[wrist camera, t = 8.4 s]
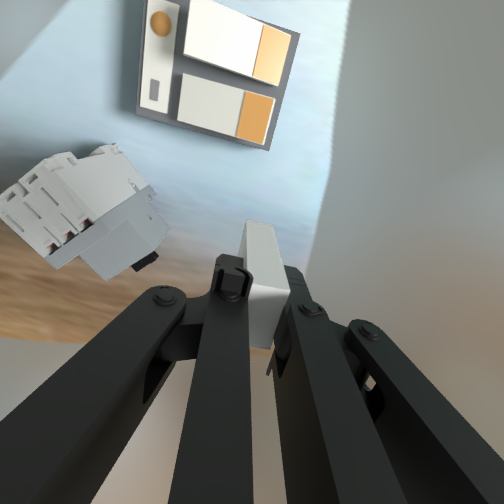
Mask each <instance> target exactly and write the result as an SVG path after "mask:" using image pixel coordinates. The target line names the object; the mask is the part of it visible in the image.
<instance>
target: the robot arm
mask: <svg viewBox="0 0 504 504" xmlns="http://www.w3.org/2000/svg"><path fill="white" fill-rule="evenodd" d="M273 339H274V344H275V349H274V352H273V354H272V357H271V360H270V363H269V366H268V369H267V372H266V375H268V376H269V374H270V371H271V369H272V370H273V380H274V388H275V398H276V407H277V416H278V425H279V433H280V443H281V452H282V461H283V471H284V479H285V488H286V497H287V504H504V461H503V460H502V458H501V457H500V456H499V455H498V454H497V453H496V452H495V451H494V450H493V449H492V448H491V447H490V446H489V444H488V443H487V442H486V441H485V440H484V439H483V438H482V437H481V436H480V435H479V434H478V433H477V431H476V430H475V429H474V428H473V427H472V426H471V425H470V424H469V423H468V422H467V421H466V420H465V419H464V417H462V415H461V414H460V413H459V412H458V411H457V410H456V409H455V408H454V407H453V406H452V405H451V404H450V402H449V401H447V399H446V398H445V397H444V396H443V395H442V394H441V393H440V392H439V391H438V390H437V389H436V387H435V386H434V385H433V384H432V383H431V382H430V381H429V380H428V379H427V378H426V377H425V376H424V374H423V373H422V372H421V371H419V369H418V368H417V367H416V366H415V365H414V364H413V363H412V362H411V360H410V359H409V358H408V357H407V356H406V355H405V354H404V353H403V352H402V351H401V350H400V349H399V348H398V346H397V345H396V344H395V343H394V342H393V341H392V340H391V339H390V338H389V337H388V336H387V335H386V334H385V333H384V332H383V331H382V330H381V329H380V328H379V327H377V326H376V325H374V324H373V323H371V322H368V321H365V320H360V319H356V320H352V321H351V322H350V323H349V326H348V327H345V326H342V325H340V324H337V323H335V322H333V321H330V320H329V318H328V315H327V313H326V311H325V310H324V308H323V307H321V306H320V305H319V304H318V303H315V302H314V301H312V298H311V296H310V293H309V290H308V288H307V285H306V282H305V280H304V277H303V274H302V273H301V272H300V271H299V270H298V269H297V268H295V267H290V266H285V265H283V262H282V258H281V254H280V251H279V247H278V243H277V240H276V236H275V232H274V229H273V225H269V224H265V223H260V222H256V221H251V220H247V219H246V223H245V227H244V231H243V235H242V240H241V244H240V248H239V252H238V256H237V257H236V256H231V255H226V254H221V255H220V256H219V257H217V259H216V264H215V269H214V274H213V279H212V283H211V288H210V291H209V292H208V293H207V294H205V295H203V296H200V297H196V298H186V294H185V293H184V292H183V291H182V290H180V289H178V288H176V287H172V286H167V285H166V286H164V285H163V286H155V287H151V288H150V289H148V290H146V291H145V292H144V293H143V294H142V295H140V296H139V297H138V298H137V299H136V300H135V301H134V302H133V303H132V304H130V305H129V306H128V307H127V308H126V309H125V310H124V311H123V312H122V313H120V314H119V315H118V316H117V317H116V318H115V319H114V320H113V321H112V322H110V323H109V324H108V325H107V326H106V327H105V328H104V329H103V330H102V331H100V332H99V333H98V334H97V335H96V336H95V337H94V338H93V339H92V340H90V341H89V342H88V343H87V344H86V345H85V346H84V347H83V348H82V349H80V350H79V351H78V352H77V353H76V354H75V355H74V356H73V357H72V358H70V359H69V360H68V361H67V362H66V363H65V364H64V365H63V366H62V367H60V368H59V369H58V370H57V371H56V372H55V373H54V374H53V375H52V376H51V377H49V378H48V380H46V381H45V382H44V383H43V384H42V385H40V386H39V387H38V388H37V389H36V390H35V391H34V392H33V393H32V394H30V395H29V396H28V397H27V398H26V399H25V400H24V401H23V402H22V403H21V404H19V405H18V406H17V407H16V408H15V409H14V410H13V411H12V412H10V413H9V414H8V415H7V416H6V417H5V418H4V419H3V420H2V421H0V504H90V503H91V502H92V500H93V498H94V496H95V495H96V493H97V492H98V490H99V489H100V487H101V485H102V484H103V482H104V481H105V479H106V477H107V476H108V474H109V472H110V471H111V469H112V467H113V466H114V464H115V463H116V461H117V459H118V457H119V456H120V454H121V453H122V451H123V450H124V448H125V446H126V445H127V443H128V441H129V440H130V438H131V437H132V435H133V433H134V432H135V430H136V428H137V427H138V425H139V423H140V422H141V420H142V419H143V417H144V415H145V414H146V412H147V410H148V409H149V407H150V406H151V404H152V402H153V401H154V399H155V397H156V396H157V394H158V393H159V391H160V389H161V387H162V386H163V384H164V383H165V381H166V379H167V378H168V376H169V375H170V373H171V371H172V370H173V368H174V366H175V364H176V361H181V360H189V359H196V363H195V368H194V373H193V378H192V383H191V388H190V394H189V398H188V403H187V408H186V414H185V418H184V424H183V429H182V434H181V439H180V444H179V449H178V454H177V459H176V464H175V469H174V474H173V479H172V484H171V489H170V494H169V499H168V504H253V503H254V502H253V465H252V426H251V391H250V390H251V389H250V351H249V346H251V347H257V348H263V349H269V350H270V348H271V345H272V342H273ZM370 375H371V376H372V378H373V379H374V381H375V382H376V384H375V386H374V388H373V389H372V390H370V389H369V388H368V387H367V385H366V384H365V383H366V381H367V380H368V378H369V376H370Z"/></svg>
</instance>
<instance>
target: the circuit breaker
mask: <svg viewBox="0 0 504 504" xmlns="http://www.w3.org/2000/svg"><path fill="white" fill-rule="evenodd" d="M117 147H118V145H117V144H116V143H115V144H114V145H111V144H110V145H104V146H100V147H98V148H97V149H96V150H94V151H93V152H92V153H91V154H89V155H88V156H87V157H86V158H82V159H78V160H77V159H76V157H75V156H74V155H73V154H72V153H71V152H70V151H69V152H63V153H58V154H55V155H53V156H52V157H50V158H48V159H47V158H46V159H44V160H42V161H41V162H40V163H39V164H37V165H36V166H35V167H34V168H33V169H31V170H30V171H29V172H28V173H26V174H25V175H24V176H23V177H22V178H20V179H19V180H18V181H19V182H18V183H16V184H14V185H12V186H11V187H9V188H8V189H7V190H6V191H4V192H3V193H2V194H1V195H0V218H1V219H2V220H3V221H4V222H5V223H6V224H7V225H8V226H10V227H11V228H12V229H13V230H14V231H15V232H16V233H17V234H18V235H19V236H20V237H22V238H23V239H24V240H25V241H26V242H27V243H28V244H29V245H30V246H31V247H32V248H33V249H35V250H36V251H37V252H38V253H39V254H40V255H41V256H42V257H44V259H45V260H47V261H48V262H49V263H50V264H51V265H52V266H53V267H54V268H55V269H59V268H60V267H62V266H63V265H65V264H66V263H68V262H69V261H71V260H72V259H74V258H75V257H77V256H78V255H79V256H80V257H81V258H82V259H83V260H84V261H85V262H86V263H87V264H88V265H89V266H90V267H91V268H92V269H93V270H94V271H95V272H97V273H98V274H99V275H100V276H101V277H102V278H103V279H104V280H105V281H107V280H109V279H110V278H112V277H113V276H115V275H117V274H118V273H120V272H121V271H123V270H125V269H126V268H128V267H130V266H131V267H132V268H133V269H134V270H135V271H136V272H138V271H139V270H140V269H142V268H143V267H145V266H146V265H148V264H149V263H152V262H154V261H155V260H157V257H159V255H158V254H157V253H156V252H155V251H154V250H155V249H156V248H157V246H158V245H159V243H160V242H161V240H162V239H163V238H164V236H165V235H166V233H167V232H168V230H169V229H170V227H169V226H168V224H167V223H166V222H165V221H164V219H163V218H162V217H161V216H160V214H159V213H158V212H157V211H156V210H155V208H154V207H153V206H152V205H151V203H150V202H149V201H150V200H151V199H152V198H153V197H155V196H156V195H157V194H156V193H155V192H154V190H153V189H152V188H151V186H150V185H149V184H148V183H147V181H146V180H145V179H144V178H143V176H142V175H141V174H140V173H139V171H138V170H137V169H136V168H135V166H134V165H133V164H132V162H131V161H130V160H129V159H128V157H127V156H126V155H125V154H124V152H123V153H120V152H119V150H118V149H117ZM146 186H147V187H146ZM90 225H91V226H90ZM74 236H75V237H74ZM71 238H72V239H71ZM68 240H69V241H68ZM65 242H66V243H65ZM58 247H59V248H58ZM55 249H56V250H55ZM52 251H53V252H52ZM49 253H50V254H49ZM46 255H47V256H46Z"/></svg>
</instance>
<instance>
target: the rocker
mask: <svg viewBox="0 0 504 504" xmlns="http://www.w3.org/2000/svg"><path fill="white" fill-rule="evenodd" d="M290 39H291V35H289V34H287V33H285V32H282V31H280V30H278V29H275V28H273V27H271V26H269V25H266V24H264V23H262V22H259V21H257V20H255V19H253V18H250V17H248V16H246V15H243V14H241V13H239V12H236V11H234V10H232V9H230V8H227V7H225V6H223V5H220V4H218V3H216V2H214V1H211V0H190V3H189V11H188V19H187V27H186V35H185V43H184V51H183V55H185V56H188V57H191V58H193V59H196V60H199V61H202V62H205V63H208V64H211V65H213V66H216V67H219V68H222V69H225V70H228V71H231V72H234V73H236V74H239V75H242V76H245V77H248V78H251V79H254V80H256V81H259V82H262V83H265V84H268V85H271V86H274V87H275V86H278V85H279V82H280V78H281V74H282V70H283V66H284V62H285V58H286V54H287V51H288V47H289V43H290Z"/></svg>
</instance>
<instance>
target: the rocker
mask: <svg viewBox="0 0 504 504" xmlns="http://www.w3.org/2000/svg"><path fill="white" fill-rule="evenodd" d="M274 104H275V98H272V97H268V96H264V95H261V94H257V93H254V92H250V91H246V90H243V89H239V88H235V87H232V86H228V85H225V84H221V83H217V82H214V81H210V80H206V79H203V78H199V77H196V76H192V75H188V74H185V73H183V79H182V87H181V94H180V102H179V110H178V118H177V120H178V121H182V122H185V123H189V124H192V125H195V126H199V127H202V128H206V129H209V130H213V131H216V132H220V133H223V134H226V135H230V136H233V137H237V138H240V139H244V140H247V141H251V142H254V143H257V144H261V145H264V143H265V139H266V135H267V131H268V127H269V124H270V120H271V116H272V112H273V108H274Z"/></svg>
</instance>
